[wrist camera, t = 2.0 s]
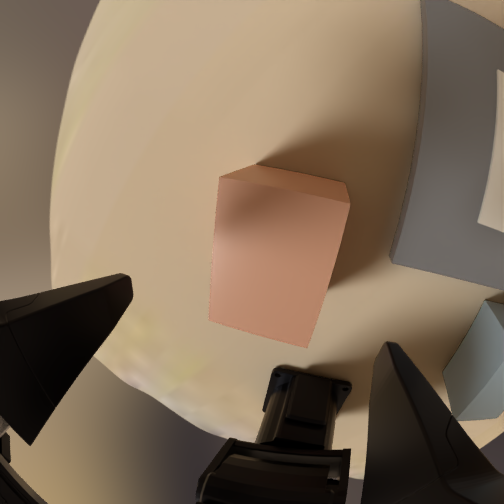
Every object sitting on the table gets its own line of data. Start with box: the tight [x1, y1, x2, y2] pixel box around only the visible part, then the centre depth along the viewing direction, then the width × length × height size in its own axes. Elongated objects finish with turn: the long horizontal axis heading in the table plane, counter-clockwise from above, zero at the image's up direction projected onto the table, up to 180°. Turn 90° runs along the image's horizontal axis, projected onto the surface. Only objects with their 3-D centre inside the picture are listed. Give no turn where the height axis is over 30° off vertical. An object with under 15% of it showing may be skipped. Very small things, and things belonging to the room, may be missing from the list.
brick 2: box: [442, 300, 504, 421], centre depth 12 cm, size 7×5×5 cm
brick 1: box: [209, 164, 350, 348], centre depth 14 cm, size 7×5×5 cm
